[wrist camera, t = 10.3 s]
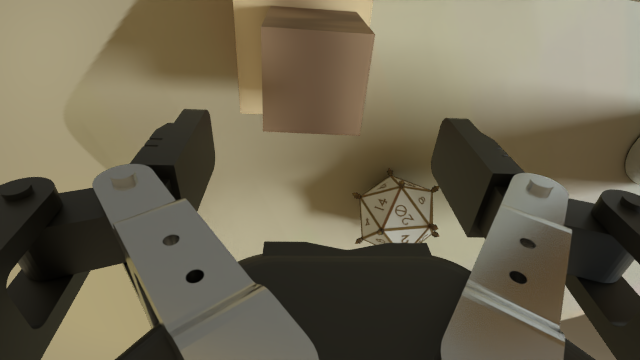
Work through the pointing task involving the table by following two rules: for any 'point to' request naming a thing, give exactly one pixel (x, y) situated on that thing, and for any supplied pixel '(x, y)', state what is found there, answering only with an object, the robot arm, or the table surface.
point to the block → (314, 70)
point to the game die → (396, 212)
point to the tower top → (248, 19)
